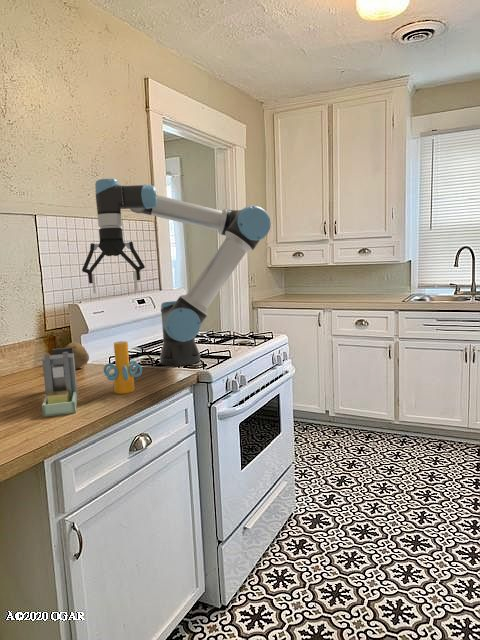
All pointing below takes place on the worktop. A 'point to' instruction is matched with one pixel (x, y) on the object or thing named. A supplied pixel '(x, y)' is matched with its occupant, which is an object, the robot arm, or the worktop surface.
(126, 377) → the cylinder
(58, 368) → the shaft
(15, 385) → the worktop surface
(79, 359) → the natural sponge
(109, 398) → the worktop surface
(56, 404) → the tray
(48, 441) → the worktop surface
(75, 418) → the worktop surface
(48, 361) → the housing
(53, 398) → the block
